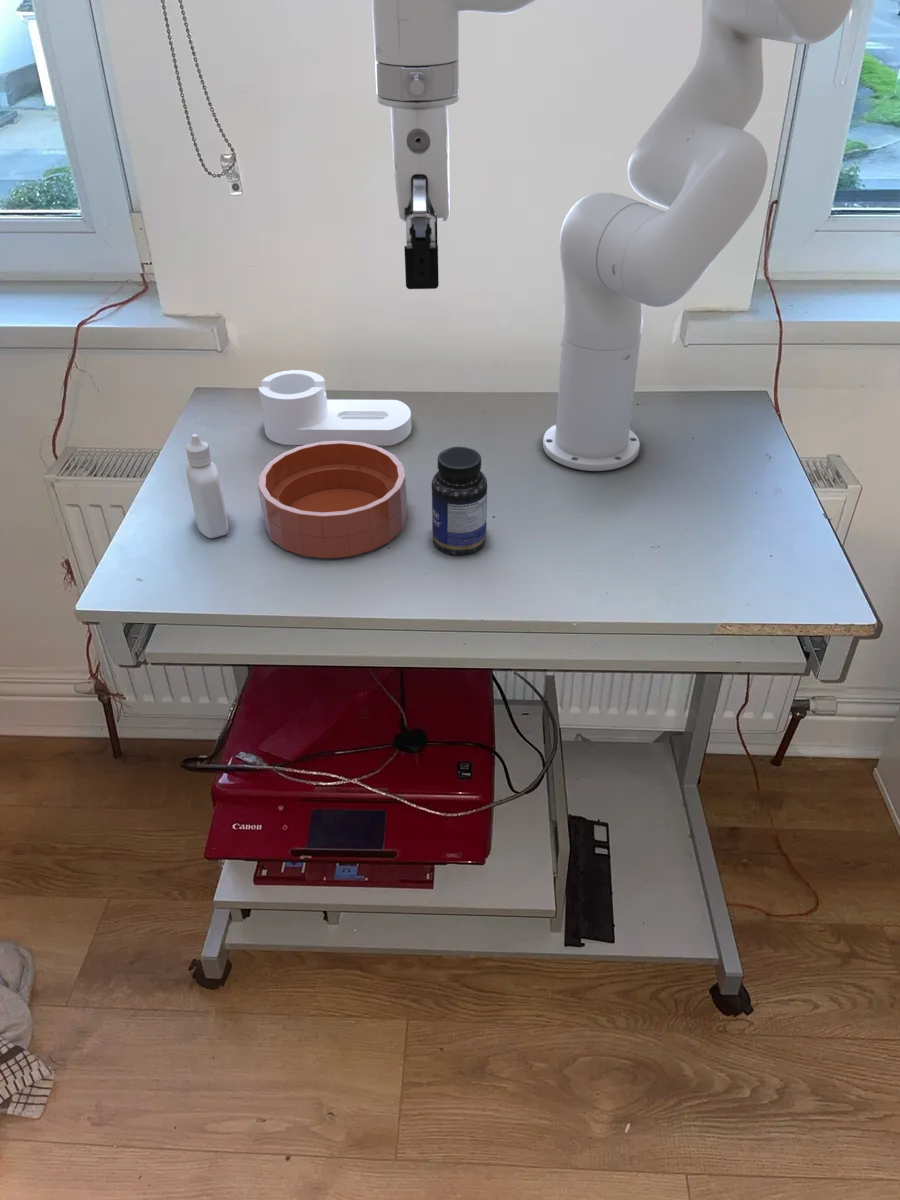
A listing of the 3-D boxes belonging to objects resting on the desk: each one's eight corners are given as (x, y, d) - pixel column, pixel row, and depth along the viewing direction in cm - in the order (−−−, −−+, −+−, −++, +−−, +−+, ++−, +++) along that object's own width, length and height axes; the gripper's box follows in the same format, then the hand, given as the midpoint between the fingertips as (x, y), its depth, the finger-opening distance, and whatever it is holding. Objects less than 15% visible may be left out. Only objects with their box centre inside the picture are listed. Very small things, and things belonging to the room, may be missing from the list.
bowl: (319, 471, 121) (314, 428, 117) (432, 504, 114) (431, 460, 111) (236, 536, 109) (228, 491, 106) (356, 576, 103) (352, 531, 99)
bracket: (259, 444, 126) (252, 399, 122) (271, 414, 133) (265, 369, 129) (409, 445, 126) (407, 399, 121) (413, 415, 132) (411, 370, 128)
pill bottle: (431, 527, 110) (429, 443, 103) (483, 525, 111) (484, 441, 104) (434, 558, 105) (432, 472, 99) (488, 555, 106) (490, 470, 99)
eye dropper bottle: (237, 513, 113) (220, 423, 106) (225, 540, 109) (208, 448, 101) (201, 512, 113) (182, 422, 106) (188, 539, 109) (167, 447, 101)
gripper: (461, 101, 79) (461, 301, 90) (456, 65, 93) (456, 242, 103) (372, 102, 79) (382, 302, 90) (379, 66, 93) (388, 243, 103)
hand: (422, 270), depth 97 cm, fingers open, 9 cm apart
